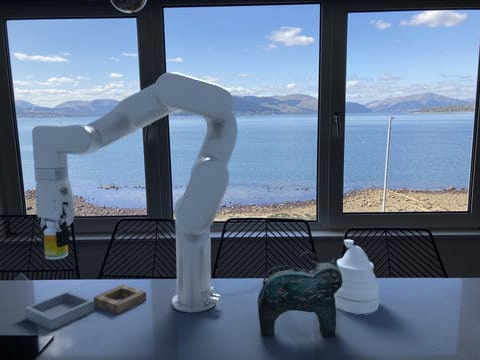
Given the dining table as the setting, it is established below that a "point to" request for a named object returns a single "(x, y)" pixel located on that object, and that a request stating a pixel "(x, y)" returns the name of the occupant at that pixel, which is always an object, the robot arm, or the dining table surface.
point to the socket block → (117, 307)
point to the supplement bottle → (53, 242)
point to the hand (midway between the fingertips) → (56, 243)
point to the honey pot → (357, 282)
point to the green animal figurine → (300, 295)
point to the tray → (59, 310)
